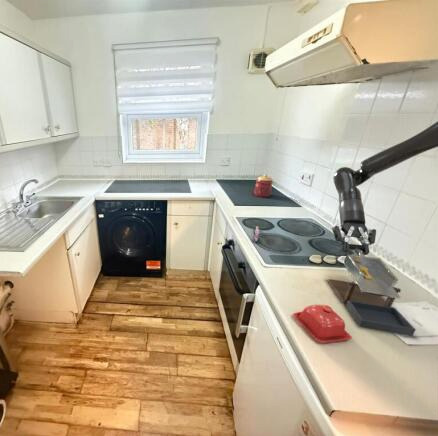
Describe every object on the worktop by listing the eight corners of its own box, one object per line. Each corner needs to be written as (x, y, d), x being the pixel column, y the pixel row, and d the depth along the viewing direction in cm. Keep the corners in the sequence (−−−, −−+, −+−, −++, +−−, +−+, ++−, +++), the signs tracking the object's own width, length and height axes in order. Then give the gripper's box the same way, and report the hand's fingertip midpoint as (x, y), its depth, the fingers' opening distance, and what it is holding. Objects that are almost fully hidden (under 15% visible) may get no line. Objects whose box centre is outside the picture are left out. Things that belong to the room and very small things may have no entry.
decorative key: (256, 233, 140) (256, 243, 122) (254, 233, 140) (254, 242, 122) (259, 222, 138) (259, 230, 120) (256, 222, 139) (256, 230, 121)
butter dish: (321, 312, 79) (328, 292, 76) (353, 342, 68) (363, 320, 65) (289, 316, 78) (296, 295, 74) (317, 347, 67) (326, 324, 64)
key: (357, 266, 86) (357, 265, 86) (365, 267, 85) (366, 266, 85) (365, 278, 81) (365, 277, 81) (374, 279, 80) (375, 278, 80)
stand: (327, 281, 94) (334, 262, 91) (369, 287, 91) (378, 268, 87) (342, 303, 83) (350, 283, 80) (391, 311, 80) (401, 290, 76)
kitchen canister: (262, 198, 192) (266, 176, 185) (250, 194, 203) (253, 173, 196) (273, 196, 197) (278, 175, 190) (261, 192, 208) (264, 172, 201)
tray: (392, 313, 79) (395, 307, 78) (412, 336, 70) (415, 329, 69) (345, 305, 82) (347, 300, 81) (359, 326, 74) (362, 320, 73)
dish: (335, 251, 95) (339, 241, 92) (364, 255, 92) (370, 245, 90) (361, 293, 77) (368, 282, 74) (399, 298, 74) (407, 287, 72)
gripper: (335, 207, 94) (339, 248, 88) (379, 210, 90) (386, 254, 85) (326, 214, 101) (329, 253, 95) (366, 218, 97) (372, 258, 91)
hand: (356, 253), depth 90 cm, fingers closed on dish, 5 cm apart
